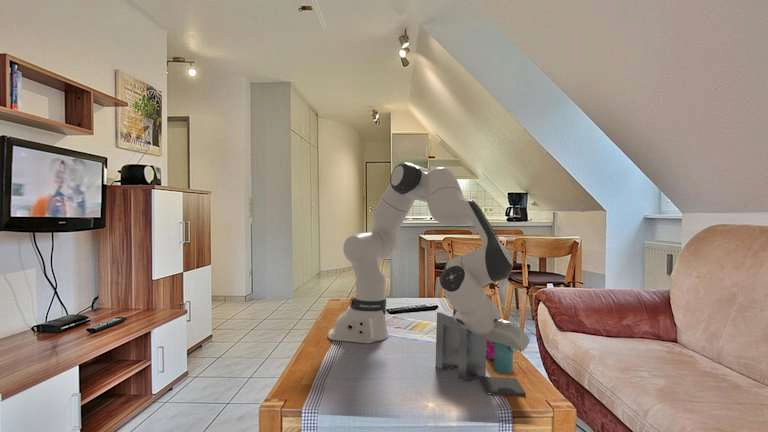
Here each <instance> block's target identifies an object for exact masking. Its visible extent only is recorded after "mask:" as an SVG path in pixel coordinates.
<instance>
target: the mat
mask: <svg viewBox="0 0 768 432" xmlns="http://www.w3.org/2000/svg"><path fill="white" fill-rule="evenodd" d="M481 380H482V381H481ZM480 381H481V383H482V385H483V388H484V387H485V388H484V390H485V389H486V390H485V392H486V391H487V392H486V394H487V393H491V394H490V395H492V394H500V396H516V397H517V396H519V397H526V391H525V390H524V388H523V387H522V385H521V383H520V382H519V380H518V379H517V378H516V377H502V376H501V377H500V376H484V377H481V378H480Z"/></svg>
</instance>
